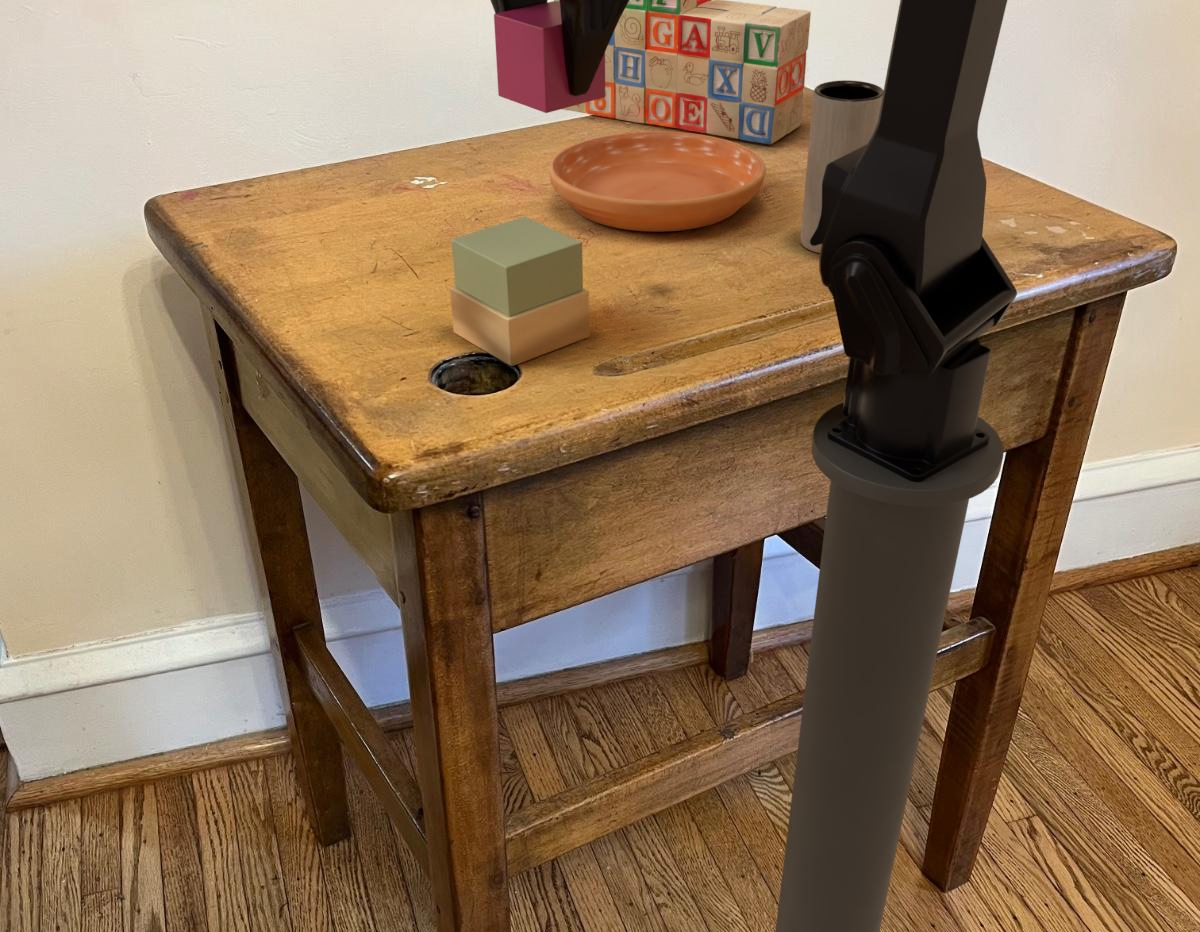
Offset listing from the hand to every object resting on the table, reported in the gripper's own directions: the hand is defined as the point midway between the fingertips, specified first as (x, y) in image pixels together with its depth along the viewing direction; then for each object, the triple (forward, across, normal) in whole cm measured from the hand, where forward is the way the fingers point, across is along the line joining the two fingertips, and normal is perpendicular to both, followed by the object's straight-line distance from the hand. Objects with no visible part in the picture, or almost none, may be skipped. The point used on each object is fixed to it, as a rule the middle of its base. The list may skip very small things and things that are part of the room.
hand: (551, 85), depth 72 cm
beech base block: (+13, +3, -5) cm, 14 cm away
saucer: (+13, -8, +16) cm, 22 cm away
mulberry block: (+1, 0, 0) cm, 1 cm away
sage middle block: (+10, +3, -5) cm, 12 cm away
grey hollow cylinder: (+13, +6, +20) cm, 25 cm away
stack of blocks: (+13, -22, +31) cm, 40 cm away
